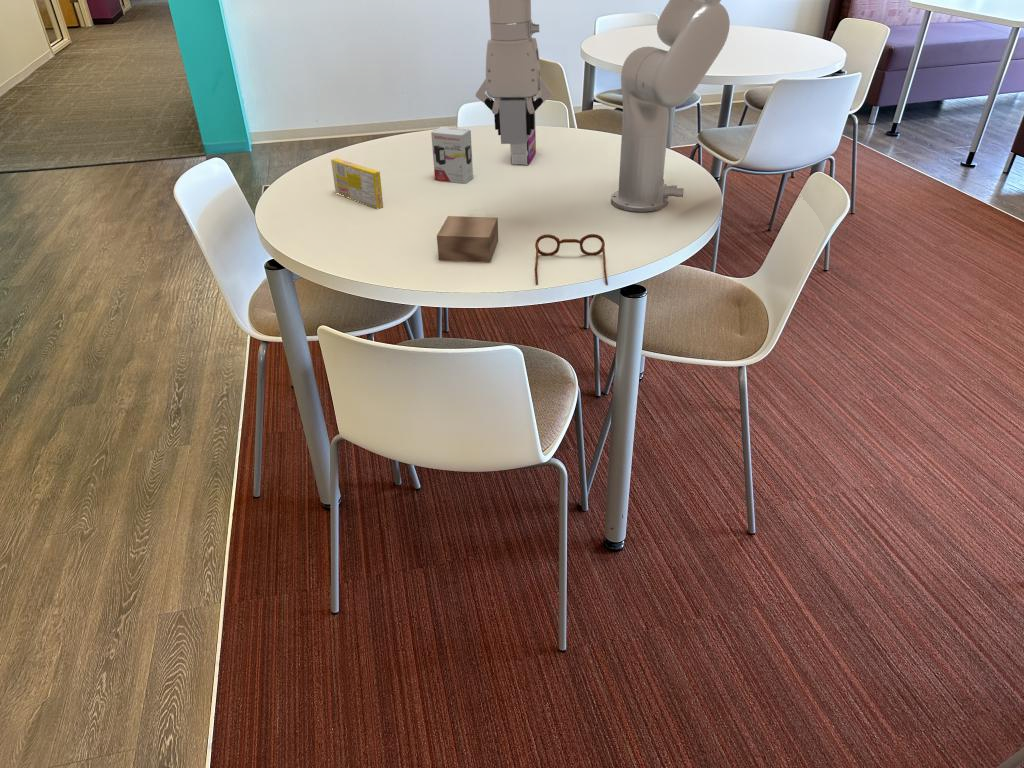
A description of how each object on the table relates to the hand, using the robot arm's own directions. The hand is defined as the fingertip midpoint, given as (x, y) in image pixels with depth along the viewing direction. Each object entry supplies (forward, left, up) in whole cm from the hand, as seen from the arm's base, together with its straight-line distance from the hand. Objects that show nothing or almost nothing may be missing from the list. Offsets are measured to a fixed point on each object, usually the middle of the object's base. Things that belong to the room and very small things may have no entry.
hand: (515, 132), depth 141 cm
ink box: (+19, -27, -19) cm, 38 cm away
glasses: (-13, +22, -19) cm, 32 cm away
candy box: (+38, -11, -19) cm, 44 cm away
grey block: (0, 0, -2) cm, 2 cm away
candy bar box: (+4, -44, -19) cm, 48 cm away
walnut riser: (+7, +15, -19) cm, 25 cm away
